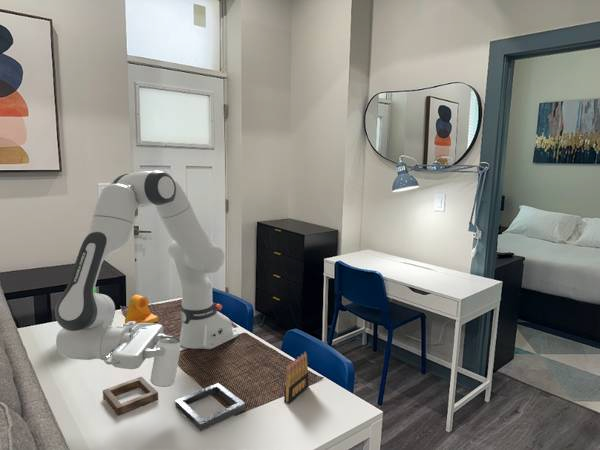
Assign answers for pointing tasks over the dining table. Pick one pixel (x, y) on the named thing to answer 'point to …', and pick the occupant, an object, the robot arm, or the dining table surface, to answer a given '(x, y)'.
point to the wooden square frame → (135, 403)
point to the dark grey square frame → (215, 418)
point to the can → (166, 362)
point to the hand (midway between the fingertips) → (168, 345)
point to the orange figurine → (139, 311)
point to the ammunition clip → (296, 378)
